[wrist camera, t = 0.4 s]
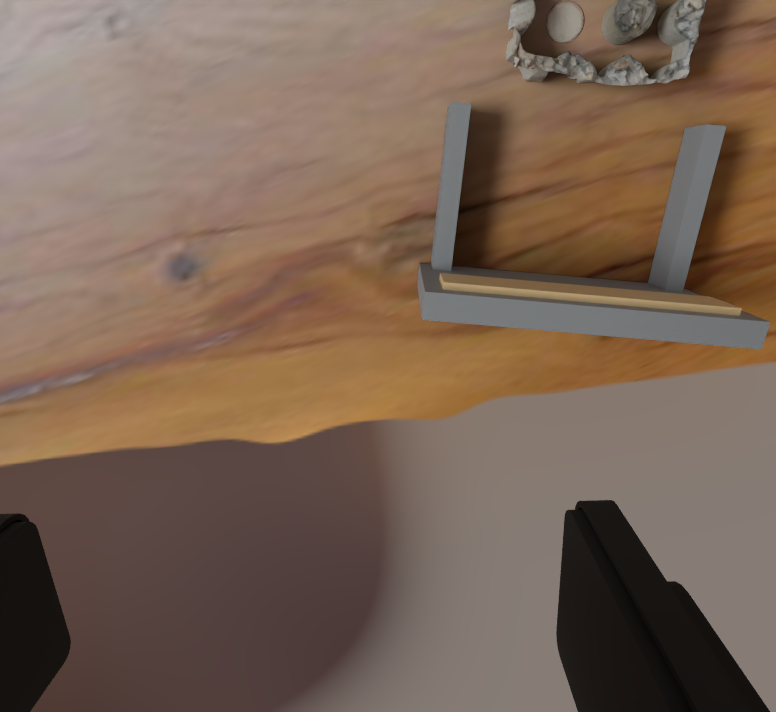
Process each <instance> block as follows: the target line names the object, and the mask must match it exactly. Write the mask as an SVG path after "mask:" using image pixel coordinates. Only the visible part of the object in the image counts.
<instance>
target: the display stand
mask: <svg viewBox="0 0 776 712" xmlns="http://www.w3.org/2000/svg"><path fill="white" fill-rule="evenodd" d="M470 111H471V103H459V102H451V103H450V105H449V106H448V111H447V120H446V129H445V138H444V147H443V157H442V166H441V175H440V184H439V193H438V203H437V212H436V221H435V230H434V239H433V249H432V258H431V264H425V263H419V272H418V282H417V286H418V294H419V301H420V308H421V316H422V320H432V321H443V322H454V323H466V324H477V325H489V326H500V327H511V328H523V329H534V330H546V331H557V332H568V333H580V334H591V335H603V336H614V337H625V338H637V339H648V340H660V341H671V342H682V343H694V344H705V345H717V346H728V347H739V348H751V349H762V347H763V344H764V341H765V337H766V334H767V331H768V328H769V325H770V322H769V321H767V320H764V319H761V318H759V317H756V316H754V315H751V314H748V313H746V312H743V311H741V310H742V308H739V307H737V306H734V305H732V304H729V303H726V302H724V301H721V300H718V299H716V298H713V297H709V296H702V295H699V294H697V293H694V292H692V291H689V290H687V289H684V285H685V282H686V278H687V274H688V270H689V266H690V263H691V259H692V255H693V251H694V247H695V244H696V240H697V236H698V232H699V228H700V225H701V221H702V217H703V213H704V210H705V206H706V202H707V198H708V194H709V191H710V187H711V183H712V179H713V175H714V172H715V168H716V164H717V160H718V156H719V153H720V149H721V145H722V141H723V137H724V134H725V130H726V126H720V125H709V124H705V125H700V126H694V127H689V128H685V131H684V135H683V139H682V143H681V147H680V151H679V156H678V160H677V164H676V168H675V172H674V176H673V181H672V185H671V189H670V193H669V197H668V201H667V205H666V210H665V214H664V218H663V222H662V226H661V230H660V234H659V239H658V243H657V247H656V251H655V255H654V259H653V264H652V268H651V272H650V276H649V280H648V283H642V282H630V281H619V280H608V279H596V278H585V277H573V276H562V275H551V274H539V273H528V272H516V271H505V270H494V269H482V268H471V267H460V266H452V259H453V251H454V243H455V234H456V226H457V218H458V210H459V202H460V193H461V185H462V177H463V169H464V160H465V152H466V144H467V136H468V127H469V119H470Z"/></svg>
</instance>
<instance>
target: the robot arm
mask: <svg viewBox="0 0 776 712" xmlns="http://www.w3.org/2000/svg"><path fill="white" fill-rule="evenodd" d="M70 643H71V641H70V636H69V632H68V629H67V626H66V622H65V619H64V615H63V612H62V609H61V605H60V602H59V599H58V595H57V592H56V589H55V586H54V583H53V579H52V576H51V572H50V569H49V566H48V562H47V559H46V556H45V552H44V549H43V546H42V542H41V539H40V536H39V532H38V529H37V527H36V525H35V524H34V523H32V522H30V521H29V519H28V518H27V517H26V516H25V515H22V514H0V712H30V711H31V709H32V708H33V707H34V705H35V704H36V702H37V701H38V699H39V698H40V697H41V695H42V694H43V692H44V691H45V689H46V688H47V686H48V685H49V684H50V682H51V681H52V679H53V678H54V677H55V675H56V674H57V672H58V671H59V669H60V668H61V667H62V665H63V664H64V662H65V660H66V658H67V656H68V654H69V650H70ZM557 645H558V650H559V654H560V658H561V661H562V664H563V667H564V670H565V673H566V676H567V680H568V682H569V685H570V689H571V692H572V695H573V698H574V701H575V704H576V707H577V710H578V712H770V711H769V710H768V708H767V707H766V705H765V704H764V703H763V701H762V699H761V698H760V696H759V695H758V694H757V692H756V691H755V689H754V688H753V686H752V685H751V683H750V682H749V680H748V679H747V677H746V676H745V675H744V673H743V672H742V670H741V669H740V667H739V666H738V664H737V663H736V661H735V660H734V659H733V657H732V656H731V654H730V653H729V651H728V650H727V649H726V647H725V645H724V644H723V643H722V641H721V640H720V638H719V637H718V635H717V634H716V632H715V631H714V630H713V628H712V627H711V625H710V624H709V622H708V621H707V619H706V618H705V616H704V615H703V613H702V612H701V611H700V609H699V608H698V606H697V605H696V603H695V602H694V600H693V599H692V598H691V596H690V595H689V593H688V592H687V591H686V590H685V588H684V587H683V586H682V585H680V584H679V583H677V582H667V581H666V579H665V578H664V576H663V575H662V573H661V572H660V570H659V569H658V567H657V566H656V564H655V563H654V561H653V560H652V558H651V556H650V555H649V554H648V552H647V550H646V549H645V547H644V546H643V544H642V543H641V541H640V540H639V538H638V536H637V535H636V533H635V532H634V530H633V529H632V527H631V526H630V524H629V523H628V521H627V520H626V518H625V517H624V515H623V514H622V512H621V510H620V509H619V507H618V506H617V504H615V502H614V501H612V500H599V501H579V502H577V504H576V507H575V510H567V511H566V513H565V521H564V534H563V548H562V562H561V576H560V590H559V604H558V618H557Z"/></svg>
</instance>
